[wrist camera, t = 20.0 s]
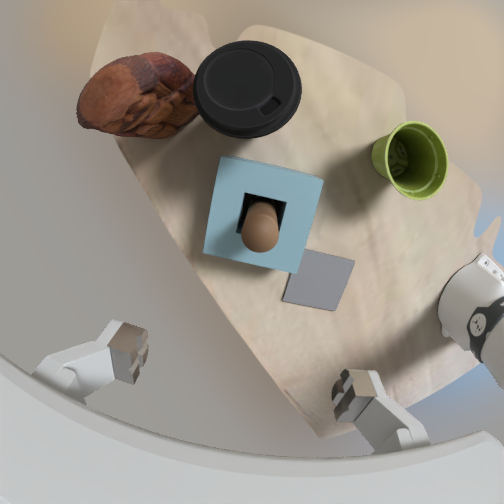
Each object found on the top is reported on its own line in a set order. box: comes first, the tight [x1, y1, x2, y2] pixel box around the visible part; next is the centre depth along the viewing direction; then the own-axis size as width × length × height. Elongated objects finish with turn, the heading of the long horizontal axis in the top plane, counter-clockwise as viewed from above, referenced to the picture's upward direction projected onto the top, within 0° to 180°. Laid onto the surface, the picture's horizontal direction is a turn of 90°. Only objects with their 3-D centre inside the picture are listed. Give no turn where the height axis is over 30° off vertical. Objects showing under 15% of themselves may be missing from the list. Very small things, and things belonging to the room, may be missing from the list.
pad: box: [283, 249, 355, 311], centre depth 41 cm, size 9×9×1 cm
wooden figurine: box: [76, 52, 199, 139], centre depth 24 cm, size 12×6×18 cm, turn 124°
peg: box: [241, 196, 279, 253], centre depth 32 cm, size 4×4×12 cm
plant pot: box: [371, 121, 448, 200], centre depth 29 cm, size 9×9×9 cm
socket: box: [203, 155, 324, 274], centre depth 34 cm, size 12×12×6 cm
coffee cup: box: [193, 40, 302, 139], centre depth 25 cm, size 9×9×15 cm
